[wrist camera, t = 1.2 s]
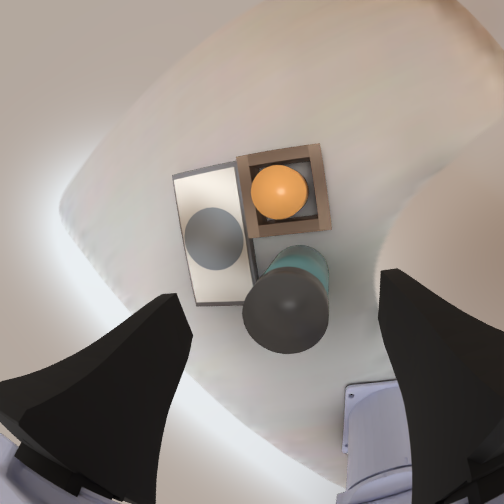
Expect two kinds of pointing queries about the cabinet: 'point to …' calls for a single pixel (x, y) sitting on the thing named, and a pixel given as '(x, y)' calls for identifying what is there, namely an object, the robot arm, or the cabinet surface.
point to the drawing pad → (215, 234)
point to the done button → (279, 192)
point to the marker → (289, 302)
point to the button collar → (264, 228)
